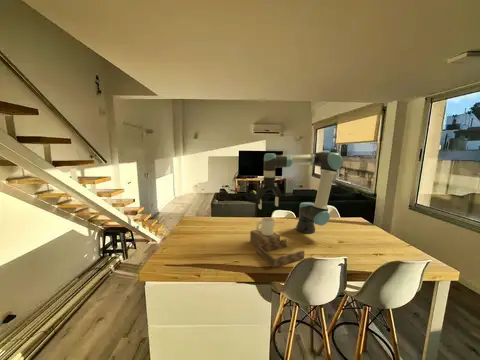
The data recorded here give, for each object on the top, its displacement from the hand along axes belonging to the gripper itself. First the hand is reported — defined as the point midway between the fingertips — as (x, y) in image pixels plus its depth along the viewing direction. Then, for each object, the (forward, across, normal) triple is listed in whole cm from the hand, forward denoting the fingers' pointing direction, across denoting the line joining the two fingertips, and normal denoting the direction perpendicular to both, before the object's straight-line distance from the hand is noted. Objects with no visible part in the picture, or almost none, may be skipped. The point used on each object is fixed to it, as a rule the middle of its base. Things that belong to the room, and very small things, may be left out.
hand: (268, 207), depth 148 cm
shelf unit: (+27, +2, +9) cm, 28 cm away
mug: (+19, +3, 0) cm, 19 cm away
